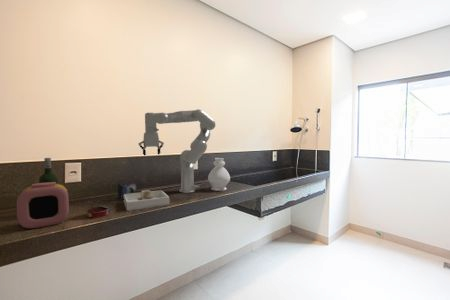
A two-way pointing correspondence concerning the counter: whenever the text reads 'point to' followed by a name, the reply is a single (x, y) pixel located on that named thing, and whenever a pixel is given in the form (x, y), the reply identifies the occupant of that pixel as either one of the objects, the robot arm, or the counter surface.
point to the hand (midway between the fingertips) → (151, 154)
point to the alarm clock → (42, 205)
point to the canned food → (97, 211)
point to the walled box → (136, 202)
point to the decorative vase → (219, 175)
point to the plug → (145, 194)
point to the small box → (126, 189)
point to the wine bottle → (48, 173)
